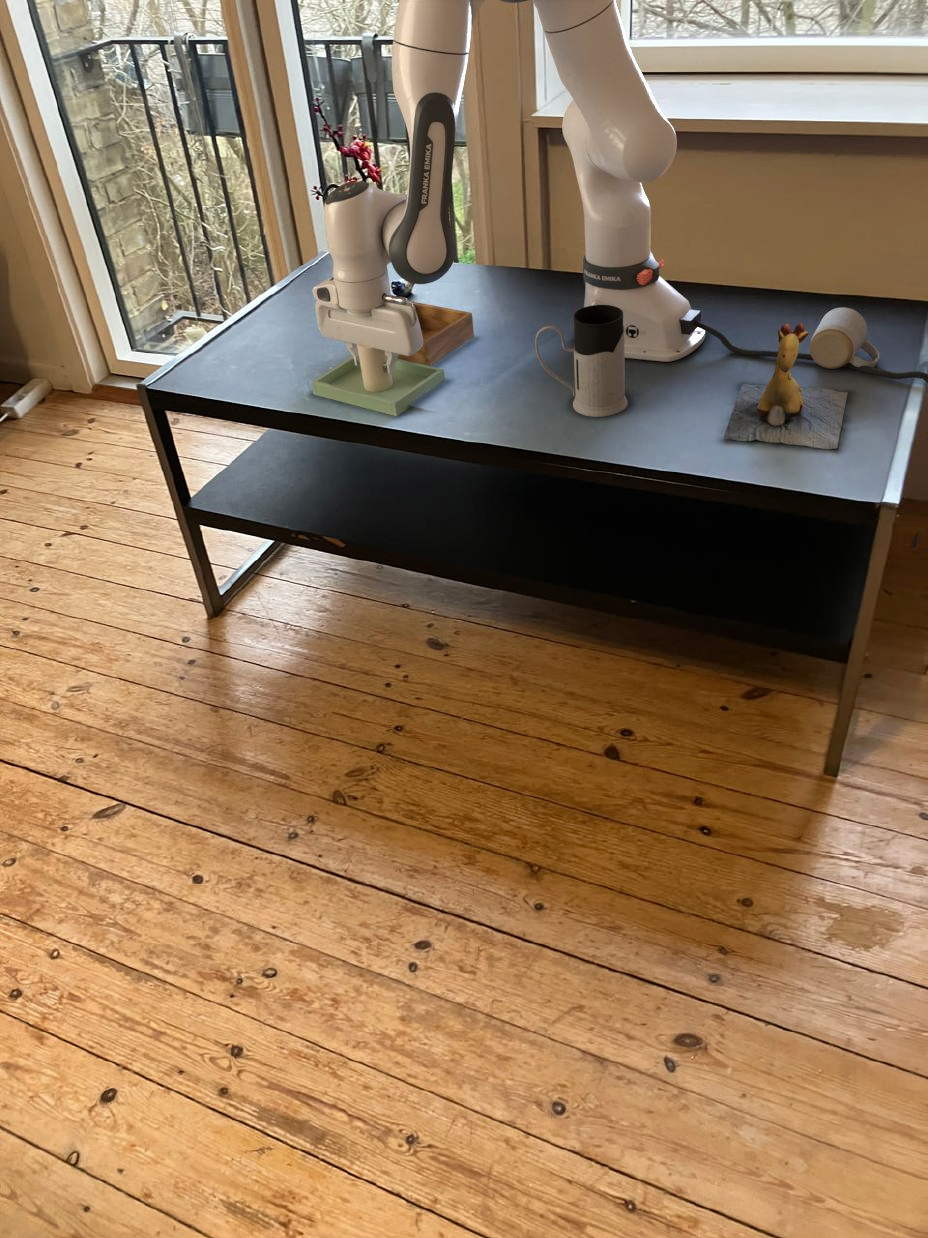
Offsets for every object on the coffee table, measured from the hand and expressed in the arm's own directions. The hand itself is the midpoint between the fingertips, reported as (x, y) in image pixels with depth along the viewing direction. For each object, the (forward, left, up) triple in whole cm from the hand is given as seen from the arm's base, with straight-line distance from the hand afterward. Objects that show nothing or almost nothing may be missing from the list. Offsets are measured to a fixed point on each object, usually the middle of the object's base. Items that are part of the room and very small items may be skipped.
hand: (375, 368), depth 178 cm
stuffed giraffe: (-65, -20, -4) cm, 68 cm away
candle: (0, 0, -3) cm, 3 cm away
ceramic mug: (-66, -41, -4) cm, 78 cm away
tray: (0, 0, -4) cm, 4 cm away
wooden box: (+3, -17, -4) cm, 17 cm away
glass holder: (-35, -10, -4) cm, 36 cm away
